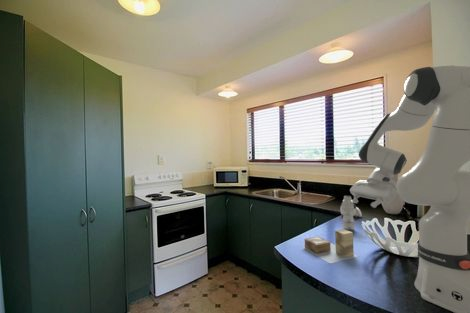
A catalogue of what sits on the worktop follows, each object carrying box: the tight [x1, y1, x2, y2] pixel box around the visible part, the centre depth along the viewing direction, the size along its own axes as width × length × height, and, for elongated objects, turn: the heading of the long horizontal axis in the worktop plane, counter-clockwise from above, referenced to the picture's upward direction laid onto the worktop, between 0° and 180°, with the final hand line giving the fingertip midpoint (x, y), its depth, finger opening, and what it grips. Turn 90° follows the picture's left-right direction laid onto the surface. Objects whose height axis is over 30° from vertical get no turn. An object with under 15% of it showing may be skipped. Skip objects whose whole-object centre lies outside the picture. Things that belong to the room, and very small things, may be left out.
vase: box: [381, 174, 405, 215], centre depth 162 cm, size 14×14×30 cm
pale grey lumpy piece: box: [339, 199, 363, 218], centre depth 157 cm, size 12×11×12 cm
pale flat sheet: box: [302, 242, 360, 264], centre depth 98 cm, size 18×16×1 cm
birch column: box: [334, 228, 355, 258], centre depth 95 cm, size 5×5×10 cm
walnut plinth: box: [304, 236, 331, 254], centre depth 101 cm, size 8×8×4 cm
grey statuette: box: [341, 195, 356, 231], centre depth 129 cm, size 6×7×20 cm
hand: (363, 204), depth 100 cm, fingers open, 8 cm apart
